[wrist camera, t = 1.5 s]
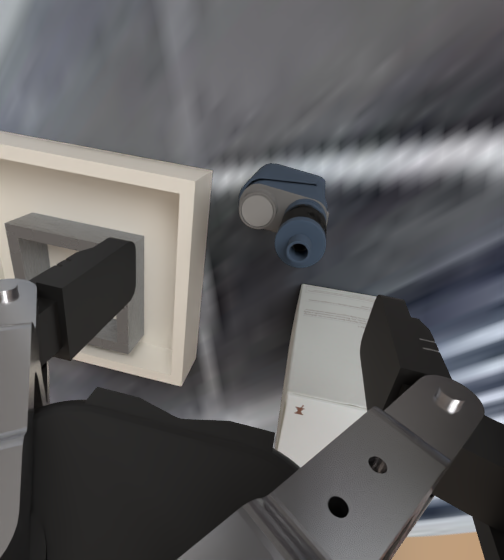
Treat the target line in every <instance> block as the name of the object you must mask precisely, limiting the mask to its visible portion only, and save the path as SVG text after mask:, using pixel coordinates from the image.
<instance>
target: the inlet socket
mask: <svg viewBox="0 0 504 560" xmlns="http://www.w3.org/2000/svg"><path fill="white" fill-rule="evenodd" d="M4 224H5V229H6V234H7V240H8V245H9V250H10V256H11V261H12V266H13V272H14V277H15V279H24V280H28V281H29V280H31V279H32V278H34V277H36V276H37V275H39V274H41V273H42V272H44V271H46V270H47V269H49V268H50V261H49V254H48V246H47V244H49V245H54V246H58V247H63V248H67V249H72V250H76V251H82V250H86V249H89V248H93V247H94V246H96V245H98V244H99V243H101V242H102V241H104V240H106V239H107V238H109V237H113V238H118V239H122V240H127V241H132V242H133V243H134V244H135V247H136V288H135V292H134V295H133V297H132V299H131V301H130V302H129V303H128V304H127V305H126V306H125V307H124V308H123V309H122V310H121V311H120V312H119V313H118V314H117V315H116V318H117V319H112V320H111V321H110V322H109V323H108V324H107V325H106V326H105V327H104V328H103V329H102V330H101V331H100V332H99V333H98V334H97V335H96V336H95V337H94V338H93V339H92V340H91V341H90V342H89V343H88V344H89V345H93V346H97V347H101V348H105V349H109V350H113V351H117V352H121V353H125V354H129V353H130V352H131V351H132V349H133V348H134V347H135V346H136V344H137V343H138V342H139V340H140V339H141V338H142V337H143V335H144V236H142V235H137V234H133V233H128V232H123V231H118V230H114V229H109V228H104V227H99V226H95V225H90V224H85V223H80V222H76V221H71V220H66V219H61V218H57V217H52V216H47V215H42V214H38V213H33V212H32V213H30V214H27V215H24V216H22V217H19V218H16V219H14V220H11V221H9V222H6V223H4Z"/></svg>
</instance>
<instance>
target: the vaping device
mask: <svg viewBox="0 0 504 560" xmlns="http://www.w3.org/2000/svg"><path fill="white" fill-rule="evenodd" d="M238 205H239V215H240V218H241V220H242V221H243V222H244V223H245V224H246V225H247V226H248V227H250V228H253V229H266V230H269V231H273V232H276V233H277V234H276V237H275V250H276V253H277V255H278V256H279V258H280V259H281V260H282V261H283V262H284V263H286V264H287V265H289V266H292V267H296V268H306V267H309V266H312V265H314V264H315V263H317V262H318V261H319V260H320V259H321V258H322V256H323V254H324V252H325V249H326V226H327V222H328V215H329V212H328V211H327V202H326V199H325V180H324V179H323V178H322V177H320V176H317V175H314V174H310V173H307V172H303V171H300V170H296V169H293V168H289V167H286V166H283V165H279V164H272V163H270V164H266V165H264V166H263V167H262V168H260V169H259V170H258V171H257V172H256V173H255V174H254V176H253V177H252V178H251V179H250V180H249V181H248V182H247V183H246V184H245V185H244V186H243V188H242V189H241V192H240V194H239V201H238Z"/></svg>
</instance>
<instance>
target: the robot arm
mask: <svg viewBox="0 0 504 560" xmlns="http://www.w3.org/2000/svg"><path fill="white" fill-rule="evenodd" d="M135 288H136V247H135V244H134V243H133V242H132V241H127V240H122V239H118V238H113V237H109V238H107V239H106V240H104V241H102V242H101V243H99V244H98V245H96V246H94V247H93V248H89V249H86V250H82V251H79V252H76V253H74V254H73V255H71V256H69V257H68V258H66V260H63V261H61V262H59V263H58V264H57V265H56V266H55V265H54V266H53V267H51V268H49V269H47V270H46V271H44V272H42V273H41V274H39V275H37V276H36V277H34V278H32V279H31V280H29V281H28V280H24V279H1V280H0V560H391V559H392V557H393V556H394V554H395V553H396V551H397V550H398V548H399V547H400V545H401V544H402V543H403V541H404V540H405V538H406V537H407V535H408V534H409V532H410V531H411V529H412V528H413V527H414V525H415V524H416V522H417V521H418V519H419V518H420V516H421V515H422V513H423V512H424V511H425V509H426V508H427V506H428V505H429V503H430V502H431V500H432V499H433V497H434V496H436V497H438V498H440V499H442V500H444V501H446V502H447V503H449V504H451V505H453V506H455V507H456V508H458V509H460V510H462V511H464V512H465V513H467V514H469V515H471V516H472V517H473V521H474V524H475V527H476V531H477V534H478V537H479V541H480V544H481V548H482V551H483V554H484V558H485V560H504V424H502V423H499V422H497V421H495V420H493V419H491V418H489V417H487V416H485V415H484V407H483V405H482V403H481V401H480V400H479V399H478V397H477V396H476V395H475V394H474V393H473V392H472V391H470V390H469V389H468V388H466V387H465V386H463V385H462V384H460V383H458V382H456V381H454V380H452V378H451V376H450V374H449V372H448V370H447V367H446V365H445V363H444V361H443V358H442V356H441V354H440V353H439V350H438V347H437V345H436V343H434V342H435V341H434V338H433V336H432V334H431V332H430V330H429V329H428V328H427V327H426V326H425V325H424V324H423V323H422V322H421V321H420V320H419V319H417V318H412V317H411V316H410V314H409V311H408V309H407V306H406V304H405V301H404V300H402V299H397V298H393V297H388V296H383V295H378V296H377V297H376V299H375V302H374V304H373V307H372V310H371V313H370V316H369V319H368V322H367V324H366V327H365V330H364V333H363V336H362V340H361V345H360V360H361V368H362V376H363V384H364V391H365V399H366V407H367V412H366V413H365V414H364V415H362V416H361V417H360V418H359V419H358V420H357V421H355V422H354V423H353V424H352V425H351V426H349V427H348V428H347V429H346V430H345V431H344V432H342V433H341V434H340V435H339V436H338V437H336V438H335V439H334V440H333V441H332V442H331V443H329V444H328V445H327V446H326V447H325V448H323V449H322V450H321V451H320V452H319V453H318V454H316V455H315V456H314V457H313V458H312V459H310V460H309V461H308V462H307V463H306V464H305V465H303V466H302V467H300V466H298V465H297V464H296V463H295V462H294V461H292V460H291V459H290V458H288V457H287V456H285V455H284V454H282V453H281V452H279V451H277V450H276V449H274V448H273V442H274V435H275V433H274V432H270V431H266V430H262V429H258V428H255V427H251V426H247V425H243V424H239V423H235V422H231V421H216V420H192V419H180V418H177V417H175V416H173V415H171V414H169V413H167V412H165V411H163V410H161V409H159V408H158V407H156V406H154V405H152V404H150V403H148V402H146V401H144V400H143V399H141V398H138V397H135V396H131V395H127V394H123V393H119V392H115V391H111V390H107V389H104V388H100V387H97V388H96V389H95V390H94V392H93V393H92V394H91V395H90V396H89V398H88V399H87V400H70V401H63V402H57V403H53V404H50V396H49V367H48V360H49V359H50V358H51V357H57V358H61V359H65V360H69V361H71V360H72V359H73V358H74V357H75V356H76V355H77V354H78V353H79V352H80V351H81V350H82V349H83V348H84V347H85V346H86V345H87V344H88V343H89V342H90V341H91V340H92V339H93V338H94V337H95V336H96V335H97V334H98V333H99V332H100V331H101V330H102V329H103V328H104V327H105V326H106V325H107V324H108V323H109V322H110V321H111V320H112V319H113V318H114V317H115V316H116V315H117V314H118V313H119V312H120V311H121V310H122V309H123V308H124V307H125V306H126V305H127V304H128V303H129V302H130V301H131V299H132V297H133V295H134V292H135Z"/></svg>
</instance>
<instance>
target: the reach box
mask: <svg viewBox="0 0 504 560" xmlns="http://www.w3.org/2000/svg"><path fill="white" fill-rule="evenodd" d="M212 174H213V171H212V170H207V169H202V168H196V167H191V166H186V165H180V164H175V163H170V162H164V161H159V160H154V159H148V158H143V157H138V156H132V155H127V154H122V153H116V152H111V151H106V150H100V149H95V148H90V147H84V146H79V145H74V144H68V143H63V142H58V141H52V140H47V139H42V138H36V137H31V136H26V135H20V134H15V133H10V132H4V131H0V280H1V279H15V277H14V272H13V266H12V261H11V256H10V250H9V245H8V240H7V234H6V229H5V224H4V223H6V222H9V221H11V220H14V219H16V218H19V217H22V216H24V215H27V214H30V213H32V212H33V213H38V214H42V215H47V216H52V217H57V218H61V219H66V220H71V221H76V222H80V223H85V224H90V225H95V226H99V227H104V228H109V229H114V230H118V231H123V232H128V233H133V234H137V235H142V236H144V335H143V337H142V338H141V339H140V340H139V342H138V343H137V344H136V346H135V347H134V348H133V349H132V351H131V352H130V353H129V354H125V353H121V352H117V351H113V350H109V349H105V348H101V347H97V346H93V345H89V344H87V345H86V346H85V347H84V348H83V349H82V350H81V351H80V352H79V353H78V354H77V355H76V356H75V357H74V358H73V359H74V360H78V361H82V362H86V363H90V364H94V365H98V366H102V367H106V368H110V369H113V370H117V371H121V372H125V373H129V374H133V375H137V376H141V377H145V378H149V379H153V380H157V381H161V382H165V383H169V384H173V385H177V386H182V384H183V383H184V381H185V379H186V377H187V375H188V373H189V371H190V369H191V367H192V365H193V363H194V361H195V359H196V353H197V342H198V331H199V320H200V309H201V297H202V286H203V275H204V264H205V252H206V241H207V230H208V219H209V207H210V196H211V185H212ZM47 246H48V254H49V261H50V268H51V267H53V266H54V265H55V266H56V265H57V264H58V263H59V262H61V261H63V260H66V258H68V257H69V256H71V255H73V254H74V253H76V252H79V251H76V250H72V249H67V248H63V247H58V246H54V245H49V244H47ZM113 319H117V318H116V316H115V317H114V318H113Z"/></svg>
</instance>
